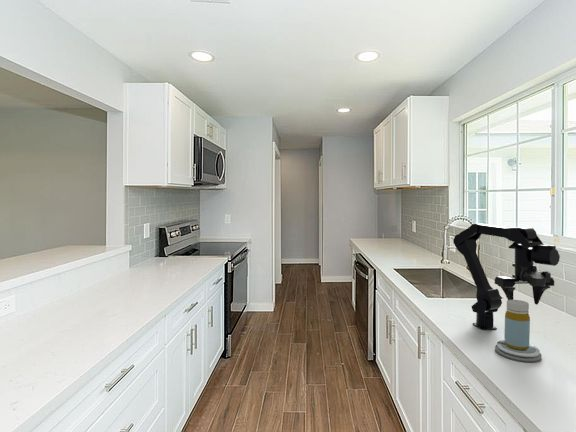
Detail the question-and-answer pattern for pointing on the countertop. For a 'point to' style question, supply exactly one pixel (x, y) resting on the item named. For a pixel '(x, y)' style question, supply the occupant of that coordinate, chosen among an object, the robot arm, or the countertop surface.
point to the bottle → (517, 325)
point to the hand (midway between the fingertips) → (523, 304)
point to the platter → (528, 353)
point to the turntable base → (520, 359)
